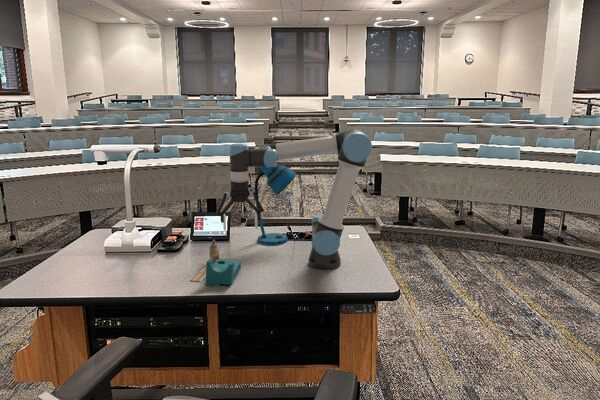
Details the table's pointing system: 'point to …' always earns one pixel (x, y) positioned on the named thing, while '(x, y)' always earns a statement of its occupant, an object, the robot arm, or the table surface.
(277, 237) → the desk lamp
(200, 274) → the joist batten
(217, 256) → the awl
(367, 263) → the table surface
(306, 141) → the robot arm
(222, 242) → the table surface
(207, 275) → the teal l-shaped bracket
